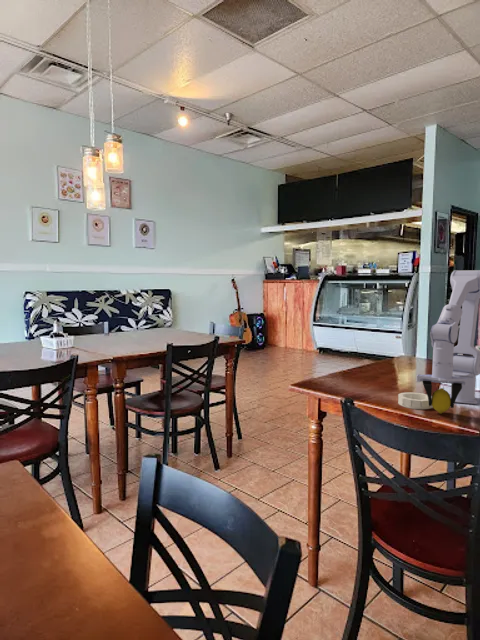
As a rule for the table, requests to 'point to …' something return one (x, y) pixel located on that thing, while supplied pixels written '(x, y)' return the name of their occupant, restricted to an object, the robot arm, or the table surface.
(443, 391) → the lemon
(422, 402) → the ring dish
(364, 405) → the table surface
